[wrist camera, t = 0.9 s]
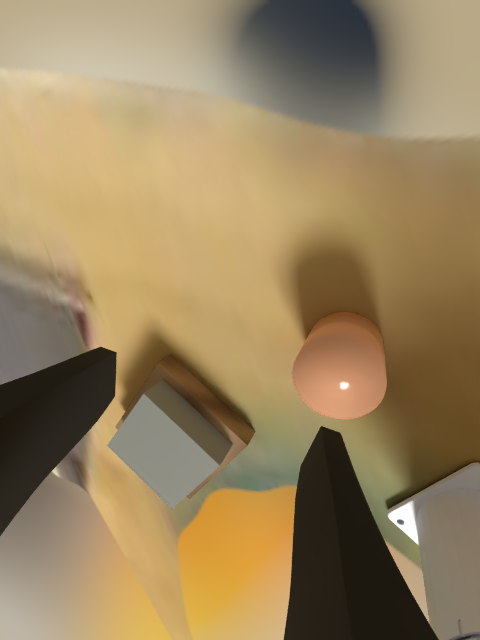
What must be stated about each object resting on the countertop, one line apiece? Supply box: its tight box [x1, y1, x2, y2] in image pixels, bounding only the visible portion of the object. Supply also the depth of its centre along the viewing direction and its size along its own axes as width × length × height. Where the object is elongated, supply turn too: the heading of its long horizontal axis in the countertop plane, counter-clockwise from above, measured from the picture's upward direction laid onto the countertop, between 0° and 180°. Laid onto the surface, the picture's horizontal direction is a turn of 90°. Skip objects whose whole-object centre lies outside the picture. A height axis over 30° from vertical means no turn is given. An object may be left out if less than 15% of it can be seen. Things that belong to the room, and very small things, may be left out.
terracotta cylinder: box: [292, 312, 387, 419], centre depth 20 cm, size 5×5×5 cm
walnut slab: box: [116, 354, 255, 499], centre depth 29 cm, size 10×10×2 cm
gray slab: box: [107, 379, 233, 509], centre depth 27 cm, size 8×8×2 cm
